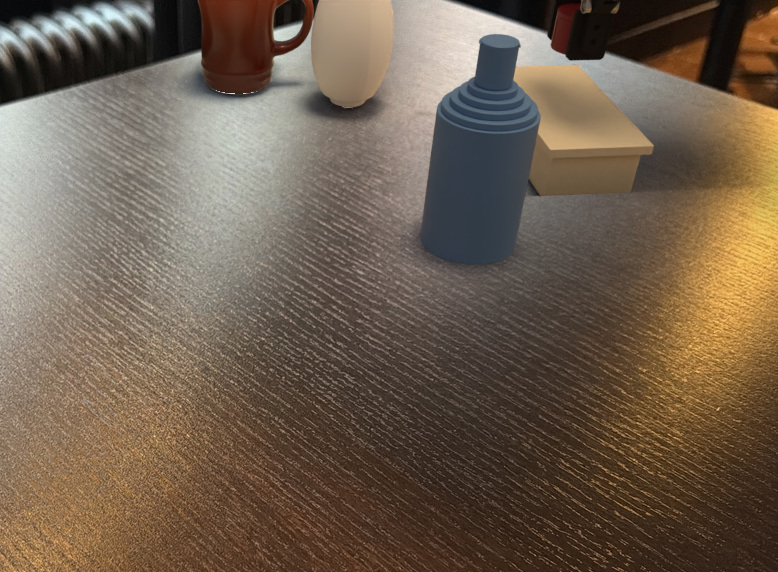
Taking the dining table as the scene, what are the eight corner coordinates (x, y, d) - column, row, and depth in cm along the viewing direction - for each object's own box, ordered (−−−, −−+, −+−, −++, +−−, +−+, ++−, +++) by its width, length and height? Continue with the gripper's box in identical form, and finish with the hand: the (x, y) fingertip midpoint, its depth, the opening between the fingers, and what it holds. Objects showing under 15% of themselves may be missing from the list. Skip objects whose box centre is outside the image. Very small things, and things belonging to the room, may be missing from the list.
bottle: (496, 233, 81) (535, 20, 70) (523, 281, 75) (570, 58, 65) (408, 237, 80) (435, 23, 70) (429, 285, 75) (461, 61, 64)
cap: (558, 57, 84) (566, 19, 82) (543, 40, 87) (550, 3, 85) (604, 56, 84) (613, 18, 82) (588, 39, 87) (596, 2, 85)
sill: (567, 114, 99) (577, 64, 96) (639, 200, 85) (654, 145, 82) (480, 117, 99) (488, 67, 95) (538, 204, 85) (550, 149, 82)
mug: (195, 102, 101) (192, -3, 95) (195, 69, 108) (193, -30, 101) (313, 101, 101) (318, -3, 95) (306, 68, 108) (311, -31, 102)
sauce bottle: (371, 126, 97) (388, -73, 85) (296, 112, 99) (304, -83, 88) (396, 97, 102) (416, -94, 91) (325, 84, 105) (336, -103, 93)
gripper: (543, -215, 80) (503, 16, 92) (623, -175, 67) (564, 88, 79) (633, -215, 81) (582, 15, 93) (729, -176, 68) (656, 86, 80)
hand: (574, 46), depth 86 cm, fingers closed on cap, 3 cm apart
